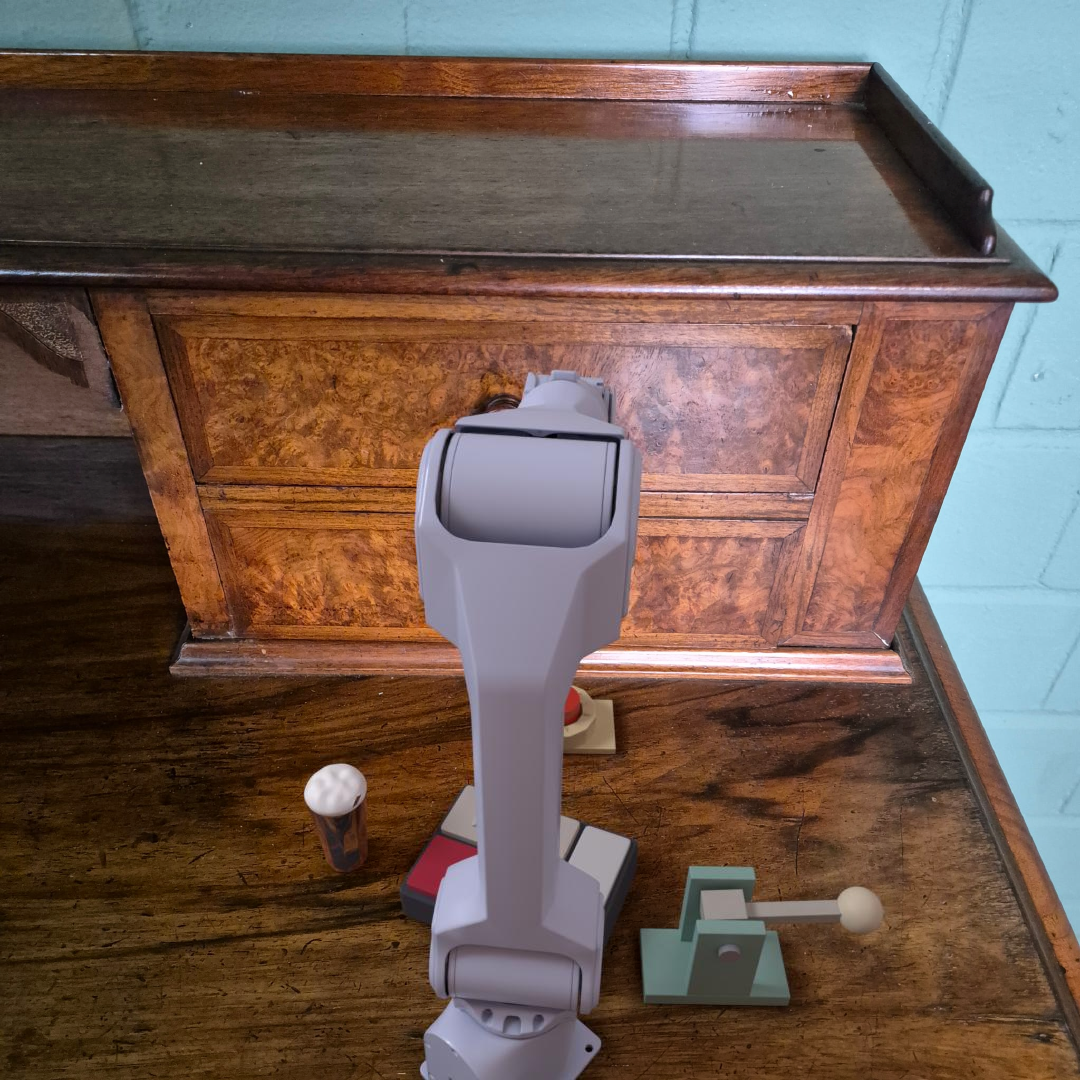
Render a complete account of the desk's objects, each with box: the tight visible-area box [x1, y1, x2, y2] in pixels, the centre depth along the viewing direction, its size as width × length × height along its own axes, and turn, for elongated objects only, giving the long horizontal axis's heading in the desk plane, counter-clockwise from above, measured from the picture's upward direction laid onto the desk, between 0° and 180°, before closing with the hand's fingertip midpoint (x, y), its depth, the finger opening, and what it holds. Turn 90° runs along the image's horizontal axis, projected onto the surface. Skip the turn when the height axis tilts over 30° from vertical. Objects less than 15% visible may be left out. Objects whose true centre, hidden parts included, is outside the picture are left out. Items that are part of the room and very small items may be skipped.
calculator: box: [398, 784, 639, 990], centre depth 72 cm, size 11×4×15 cm
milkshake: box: [303, 763, 369, 874], centre depth 72 cm, size 4×5×10 cm
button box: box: [563, 684, 617, 755], centre depth 86 cm, size 6×10×2 cm, turn 89°
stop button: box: [564, 687, 580, 726], centre depth 85 cm, size 4×4×2 cm
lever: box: [700, 886, 884, 936], centre depth 63 cm, size 12×3×3 cm, turn 89°
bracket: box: [638, 865, 791, 1007], centre depth 65 cm, size 10×6×9 cm, turn 89°
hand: (561, 652), depth 81 cm, fingers open, 3 cm apart
